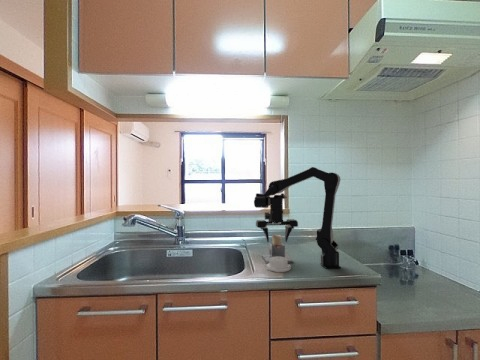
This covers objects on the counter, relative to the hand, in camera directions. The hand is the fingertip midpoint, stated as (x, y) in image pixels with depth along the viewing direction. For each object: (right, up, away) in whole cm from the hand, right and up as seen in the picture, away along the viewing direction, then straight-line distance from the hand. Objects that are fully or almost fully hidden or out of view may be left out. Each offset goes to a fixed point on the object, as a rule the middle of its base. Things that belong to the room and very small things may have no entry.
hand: (276, 241), depth 126 cm
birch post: (0, -7, 0) cm, 7 cm away
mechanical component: (-1, -9, -13) cm, 15 cm away
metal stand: (0, -8, 0) cm, 8 cm away
